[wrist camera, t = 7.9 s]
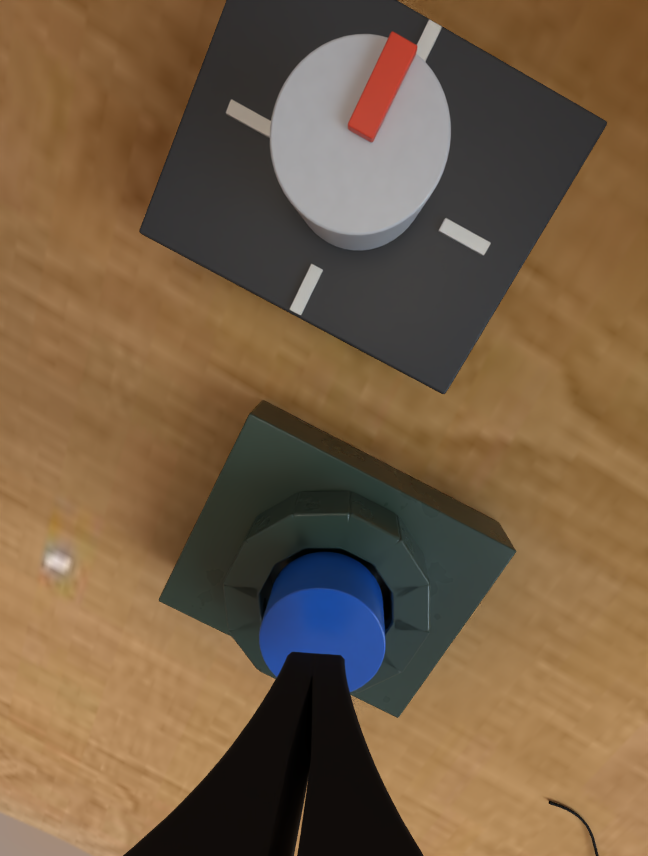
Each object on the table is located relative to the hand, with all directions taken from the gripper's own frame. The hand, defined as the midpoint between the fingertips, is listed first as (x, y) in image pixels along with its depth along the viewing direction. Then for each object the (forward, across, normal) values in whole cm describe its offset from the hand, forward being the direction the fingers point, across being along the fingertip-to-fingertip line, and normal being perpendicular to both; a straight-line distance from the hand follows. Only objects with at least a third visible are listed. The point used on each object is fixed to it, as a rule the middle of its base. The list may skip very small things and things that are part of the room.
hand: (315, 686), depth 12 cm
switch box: (+7, 0, 0) cm, 7 cm away
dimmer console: (+7, -1, -12) cm, 14 cm away
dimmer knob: (+4, -1, -12) cm, 13 cm away
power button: (+4, 0, 0) cm, 4 cm away
